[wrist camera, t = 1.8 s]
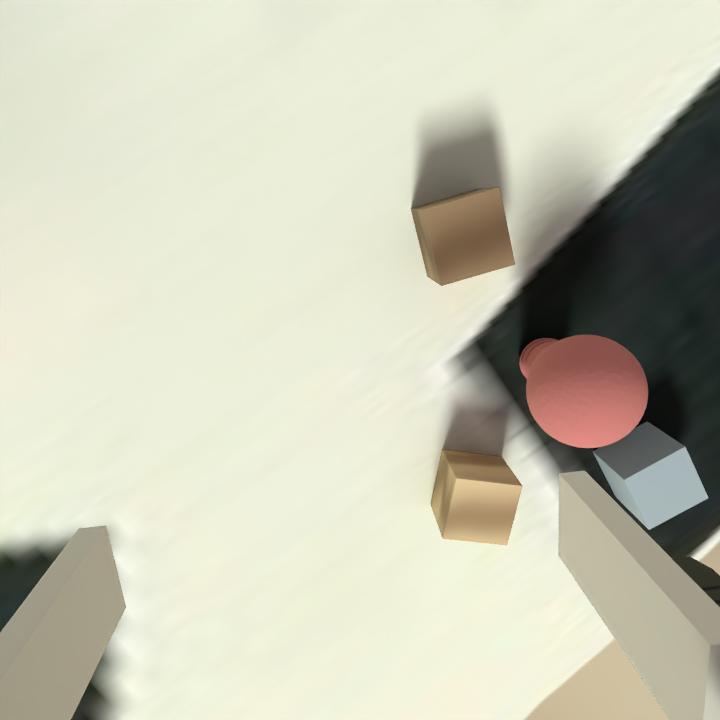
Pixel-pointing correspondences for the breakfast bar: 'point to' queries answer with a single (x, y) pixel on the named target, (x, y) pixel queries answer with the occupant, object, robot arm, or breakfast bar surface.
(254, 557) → the breakfast bar surface
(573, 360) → the light bulb
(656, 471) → the slate-blue painted block
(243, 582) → the breakfast bar surface
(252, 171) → the breakfast bar surface
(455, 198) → the walnut block
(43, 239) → the breakfast bar surface
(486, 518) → the oak block
